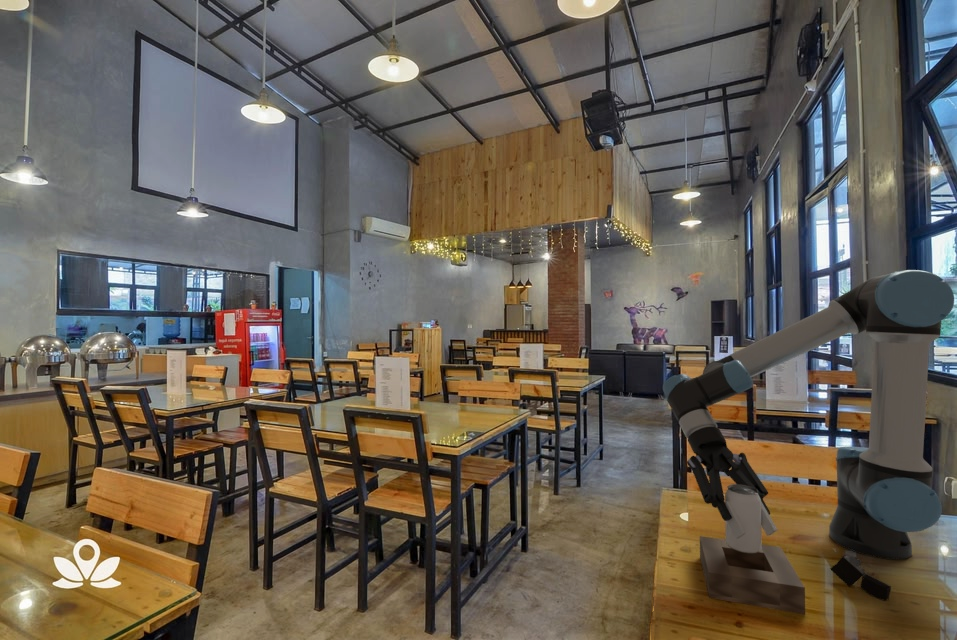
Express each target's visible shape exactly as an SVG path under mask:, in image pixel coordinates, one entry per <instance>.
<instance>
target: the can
mask: <svg viewBox="0 0 957 640" xmlns="http://www.w3.org/2000/svg"><path fill="white" fill-rule="evenodd" d="M726 489H727V490H726V491H725V495H724V499H725V500H724V502H726V501H730V503H731V505H732V507H733V509H734V511H735V513H736V515H737V517H738V519H739V521H740V523H741V525H742V526H743V528H744V530H745V532H746V534H744V535H743V536H742V537H740V538H738V539H736V538H735V536H734V534H733V532H732V530H731V528H730V526H729V524H728V522H727V521H725V522H724V524H725V540H726V543H727V544H728V546H729V547H731V548H732V549H734V550H736V551H739V552H743V553H750V554H753V553H758V552H759V551H760V550H761V544H762V525H761V499H760V497H759V495H758V490H757V489H755V488H753V487H750V486H746V485H739V484H736V483H735V484H734V483H733V484H729V485H727V488H726Z"/></svg>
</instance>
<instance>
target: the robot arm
mask: <svg viewBox="0 0 957 640" xmlns="http://www.w3.org/2000/svg"><path fill="white" fill-rule="evenodd" d="M954 304H955V295H954V292H953V289H952V288H951V286H950V284H949V283H948V282H947V281H946V280H944V279H943V278H942V277H941V276H939V275H937V274H935V273H933V272H930V271H926V270H919V269H917V270H916V269H907V270H906V269H905V270H897V271H893V272H890V273H888V274H882V275H878V276H874V277H871V278H869V279H867V280H865V281H864V282H862V283H860V284H859V285H857V286H855V287H854V288H852V289H851V290H848V291H847V292H845V293H844V294H841V295H840V296H838V297H836V298H833V299H832V300H830V301H829V303H828V306H827V307H825V308H823V309H821V310H819V311H817V312H815V313H814V314H813V313H812V314H811V315H809V316H807V317H804V318H802V319H800V320H799V321H796V322H794V323H792V324H790V325H788V326H786V327H784V328H782V329H780V330H778V331H776V332H774V333H771V334H769V335H768V336H765V337H763V338H762V339H760V340H758V341H754V342H753V343H752V344H749V345H747V346H745V347H743V348H741V349H739V350H737V351H735V352H733V353H731V354H729V355H727V356H724V357H723V358H720V359H719V360H718V359H717V360H713V361H711V362H709V363H708V364H706V365H705V367H704V368H703V371H702V374H701V375H698V376H696V377H692V378H691V377H690V376H689V375H688V374H684V373H680V374H678V375H677V374H675V375H672V376H670V377H669V378H667V379H666V380H665V381H664V382H663V385H662V391H663V393H664V396H665V397H666V401H667V403H668V406H669V407H670V409H671V411H672V413H673V415H674V417H675V418H676V421H677V422H678V424H679V426H680V429H681V431H682V432H683V434H684V436H685V437H686V439H687V442H688V444H689V446H690V448H691V450H692V452H693V453H694V454H695V455H691V456H690V458H688V460H687V461H686V464H687V465H688V467H689V469H690V470H691V471H692V473H693V476H694V479H695V480H696V482H697V486H698V488H699V491H700V493H701V496H702V498H703V501H704V503H705V504H707V505H709V504H711V506H712V507H713V508H714V509H715V508H717V510H718V512H719V514H720V516H721V518H722V519H723V521H727V522H728V524H729V526H730V528H731V530H732V532H733V534H734V536H735V538H736V539H738V538H740V537H742V536H743V535H744V534H746V532H745V530H744V528H743V526H742V525H741V523H740V521H739V519H738V517H737V515H736V513H735V511H734V509H733V507H732V505H731V503H730V501H726V502H725V495H724V489H723V485H722V479H721V476H720V475H721V474H720V473H724V474H725V475H726V477H729V478H730V479H731V480H732V481H733V482H734V483H735V484H739V485H746V486H750V487H753V488H755V489H757V490H758V495H759V497H760V499H761V528H762V530H763V531H764V532H765V534H766V536H771V535H773V534H774V533H776V532H777V531H778V530H779V529H778V528H777V527H776V524H775V523H774V521H773V519H772V517H771V516H770V515H771V511H770V509H769V508H768V505H766V502H765V501H764V498H765V497H767V496H768V495H769V491H768V489H767V488H766V487H765V485H764V484H763V482H762V481H761V479H760V478H759V476H758V475H757V473H756V472H755V470H754V469H753V467H752V466H751V465H750V463H749V461H748V458H747V455H746V453H744V452H740V453H733V451H732V450H731V449H729V447H728V445H727V440H726V438H725V436H724V435H723V433H722V431H721V430H720V428H718V424H717V422H716V421H715V419H714V417H713V416H712V414H711V413H710V410H709V409H708V407H711V406H713V405H715V404H717V403H720V402H722V401H724V400H727V399H729V398H732V397H734V396H736V395H737V396H738V395H739V394H743V393H744V392H746V391H747V390H749V389H751V388H753V387H754V385H755V384H754V380H753V379H752V377H755V376H757V375H760V374H762V373H764V372H766V371H769V370H771V369H772V368H775V367H778V366H780V365H781V364H784V363H787V362H789V361H791V360H792V359H795V358H797V357H799V356H801V355H804V354H806V353H808V352H810V351H812V350H814V349H817V348H818V347H821V346H823V345H825V344H828V343H830V342H832V341H834V340H836V339H838V338H841V337H843V336H845V335H848V334H850V335H858V334H860V333H863V332H865V334H867V335H868V336H869V337H870V338H872V339H873V341H874V347H873V364H872V365H873V366H872V385H871V399H870V400H871V402H870V418H869V435H868V436H869V437H868V447H863V446H862V447H861V446H841V447H839V448H838V449H837V451H836V457H835V461H836V488H837V489H836V491H837V495H836V496H837V507H836V509H835V511H834V514H833V516H832V519H831V521H830V523H829V529H828V531H829V537H830V539H831V540H832V541H833V542H834V543H836V544H838V545H840V546H841V547H843V548H845V549H847V550H850V551H853V552H856V553H859V554H862V555H865V556H870V557H872V558H873V557H874V558H880V559H887V560H905V559H909V558H910V557H911V556H912V555H913V548H912V547H913V545H912V542H911V539H910V537H909V535H908V533H918V532H921V531H924V530H926V529H929V528H931V527H933V526H934V525H936V524H937V522H938V521H939V519H940V518H941V515H942V513H943V506H942V503H941V499H940V498H939V495H938V494H937V493H936V491H935V490H934V489H933V488H932V487H933V467H932V466H931V465H930V464H929V463H928V461H926V460H925V459H924V443H925V441H924V440H925V429H926V428H925V425H926V410H927V409H926V407H927V391H928V378H929V377H928V374H929V372H928V371H929V359H930V358H929V357H930V345H931V343H933V342H934V341H936V340H937V339H939V338H940V337H941V332H942V321H944V319H946V318H947V317H948V316H949V314H950V313H951V312H952V310H953V308H954ZM703 466H704V467H705V469H704V467H703Z"/></svg>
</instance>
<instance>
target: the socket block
mask: <svg viewBox="0 0 957 640" xmlns="http://www.w3.org/2000/svg"><path fill="white" fill-rule="evenodd" d="M699 558H700V564H701V568H702V572H703V577H704V581H705V585H706V589H707V590H706V591H707V595H708V598H710V599H716V600H719V601H720V600H721V601H728V602H732V603H737V604H743V605H749V606H755V607H760V608H765V609H767V608H768V609H772V610H777V609H778V610H779V611H782V610H783V612H788V611H789V612H790V613H794V614H801V615H806V587H805V585H804V584H803V582H802V580H801V578H800V577H799V575H798V573H797V572H796V571H795V568H794V567H793V565H792V564H791V562H790V560H789V559H788V557H787V555H786V553H785V552H784V550H783V549H782V547H781V546H775V545H768V544H762V543H761V550H760V551H759V552H758V553H753V554H750V553H743V552H739V551H736V550H734V549H732V548H731V547H729V546H728V544H727V543H726V538H725V539H724V538H717V537H710V536H702V535H699Z"/></svg>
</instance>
